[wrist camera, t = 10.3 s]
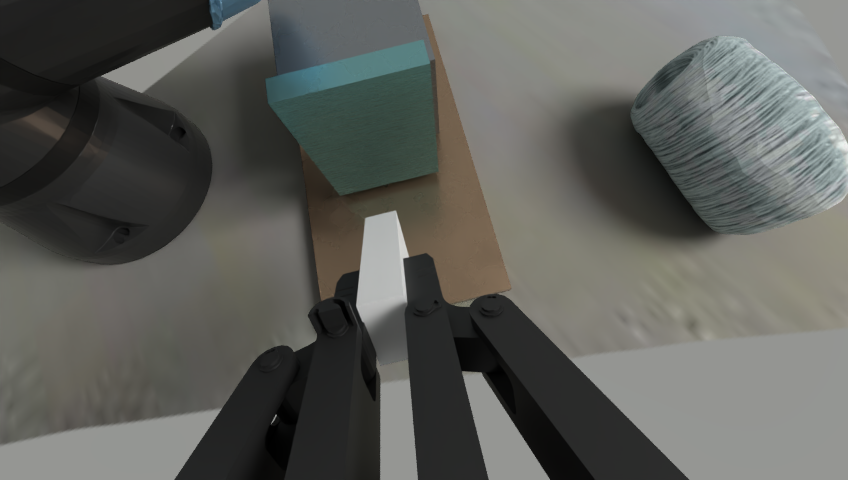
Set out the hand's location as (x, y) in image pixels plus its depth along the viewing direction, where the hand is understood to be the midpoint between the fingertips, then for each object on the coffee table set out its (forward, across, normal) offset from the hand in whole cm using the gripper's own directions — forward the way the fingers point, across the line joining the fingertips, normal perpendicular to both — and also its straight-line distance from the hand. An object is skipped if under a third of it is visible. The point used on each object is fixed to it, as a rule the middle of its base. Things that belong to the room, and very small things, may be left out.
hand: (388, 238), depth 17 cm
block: (+16, 0, +4) cm, 17 cm away
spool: (+10, +24, -5) cm, 26 cm away
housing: (+15, 0, 0) cm, 15 cm away
